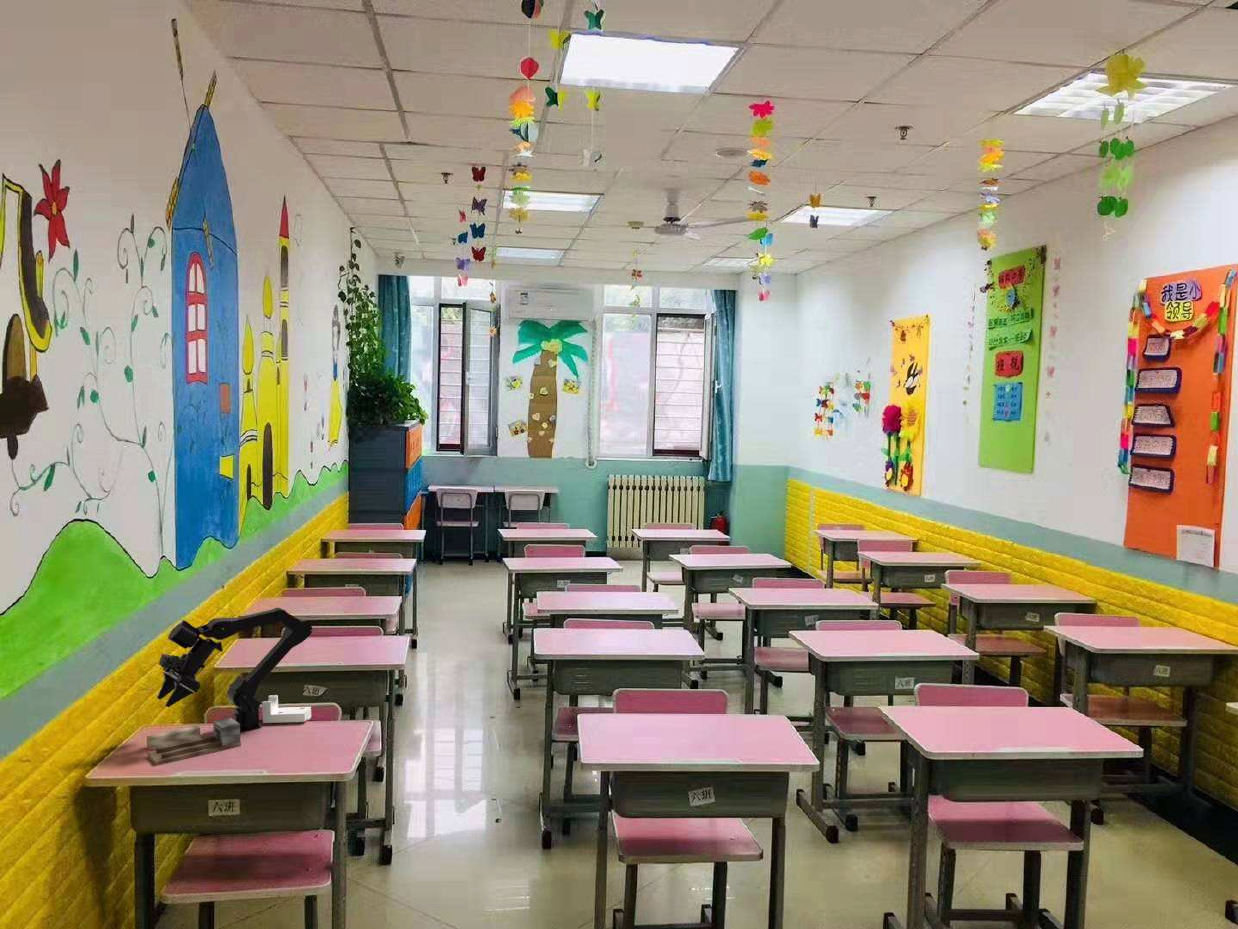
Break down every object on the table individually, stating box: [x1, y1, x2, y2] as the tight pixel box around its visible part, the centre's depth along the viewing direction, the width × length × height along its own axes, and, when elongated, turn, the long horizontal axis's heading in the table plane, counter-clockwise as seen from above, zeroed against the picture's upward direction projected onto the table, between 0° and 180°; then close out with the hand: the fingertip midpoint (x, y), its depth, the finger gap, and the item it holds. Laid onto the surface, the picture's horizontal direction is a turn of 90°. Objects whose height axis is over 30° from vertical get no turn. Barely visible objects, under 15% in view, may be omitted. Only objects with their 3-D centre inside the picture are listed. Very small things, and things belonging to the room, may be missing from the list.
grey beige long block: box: [146, 725, 201, 750], centre depth 277 cm, size 14×3×4 cm, turn 131°
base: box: [147, 717, 242, 766], centre depth 269 cm, size 23×9×6 cm, turn 130°
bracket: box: [261, 694, 312, 724], centre depth 296 cm, size 13×7×8 cm, turn 92°
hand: (162, 702), depth 274 cm, fingers open, 9 cm apart
